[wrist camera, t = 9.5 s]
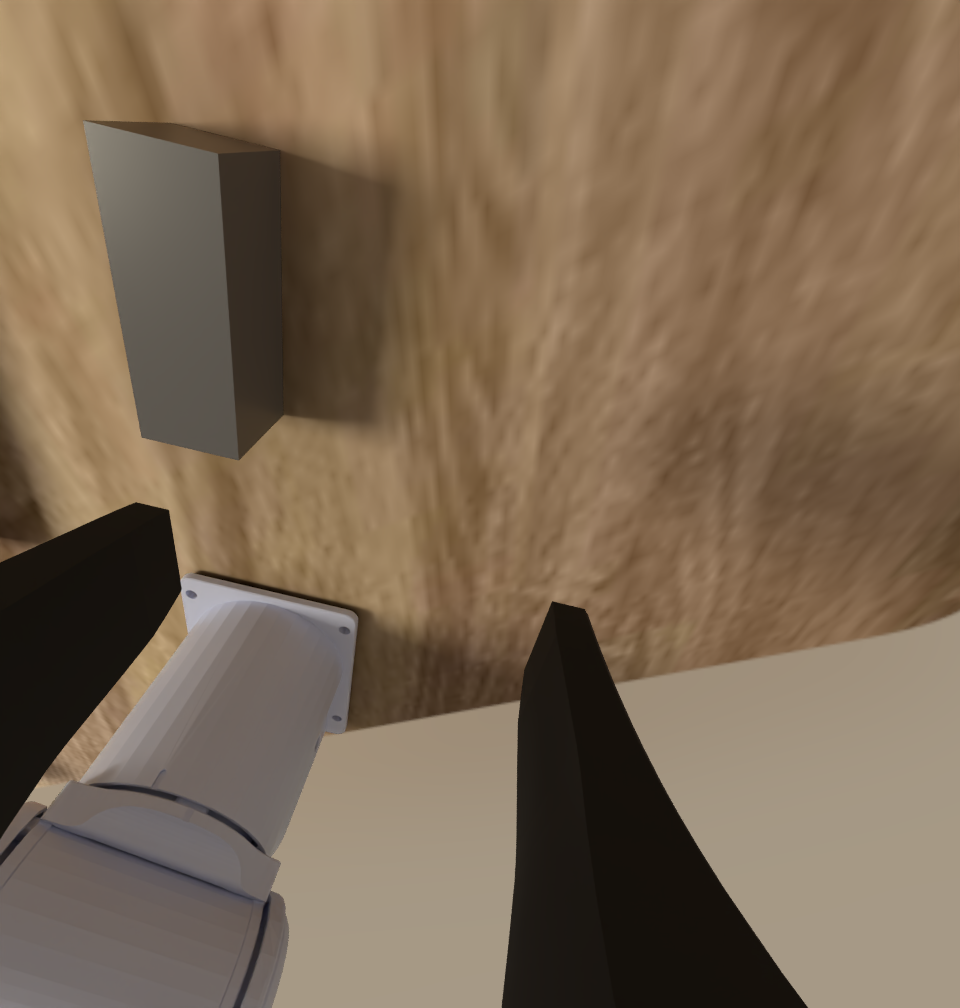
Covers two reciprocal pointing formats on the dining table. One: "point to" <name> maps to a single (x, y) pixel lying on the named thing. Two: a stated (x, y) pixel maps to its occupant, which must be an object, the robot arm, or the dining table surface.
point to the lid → (194, 279)
